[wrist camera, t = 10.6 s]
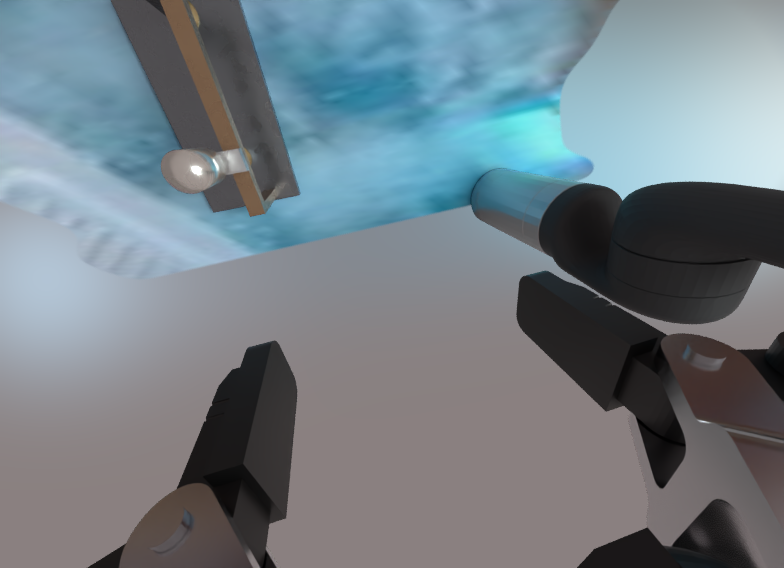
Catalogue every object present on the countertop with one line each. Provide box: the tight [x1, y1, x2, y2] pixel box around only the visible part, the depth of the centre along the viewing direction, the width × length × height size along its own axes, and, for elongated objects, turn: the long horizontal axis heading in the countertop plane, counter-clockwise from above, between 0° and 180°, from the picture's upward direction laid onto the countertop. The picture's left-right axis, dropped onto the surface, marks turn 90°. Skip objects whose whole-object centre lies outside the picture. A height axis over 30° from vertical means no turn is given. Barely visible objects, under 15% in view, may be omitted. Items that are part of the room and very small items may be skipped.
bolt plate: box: [111, 0, 300, 217], centre depth 30 cm, size 12×22×12 cm, turn 9°
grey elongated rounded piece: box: [161, 148, 250, 194], centre depth 29 cm, size 5×3×17 cm
